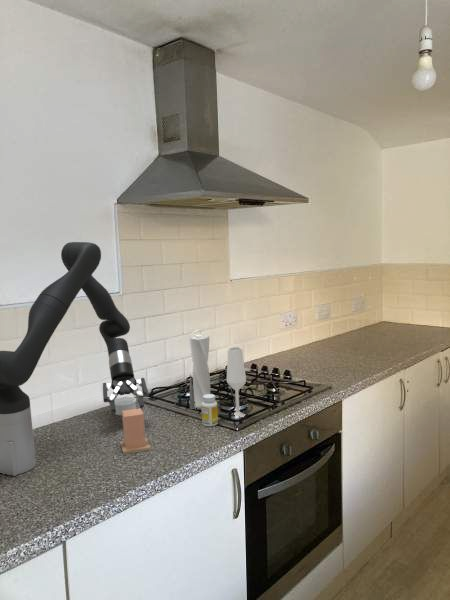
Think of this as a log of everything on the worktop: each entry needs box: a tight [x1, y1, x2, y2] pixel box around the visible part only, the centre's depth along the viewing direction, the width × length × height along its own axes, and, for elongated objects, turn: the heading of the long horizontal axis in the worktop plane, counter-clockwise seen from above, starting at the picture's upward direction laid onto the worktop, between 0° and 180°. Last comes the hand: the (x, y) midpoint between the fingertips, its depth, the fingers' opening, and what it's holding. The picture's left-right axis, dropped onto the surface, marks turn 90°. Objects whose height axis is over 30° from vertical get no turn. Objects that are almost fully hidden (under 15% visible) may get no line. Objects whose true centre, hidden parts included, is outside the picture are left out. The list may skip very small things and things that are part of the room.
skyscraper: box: [188, 328, 211, 410], centre depth 182 cm, size 8×8×28 cm
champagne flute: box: [226, 346, 247, 417], centre depth 169 cm, size 7×7×24 cm
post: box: [119, 436, 152, 455], centre depth 149 cm, size 8×8×8 cm
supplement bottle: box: [200, 393, 219, 427], centre depth 165 cm, size 5×5×10 cm
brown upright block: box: [121, 407, 146, 449], centre depth 149 cm, size 6×6×10 cm
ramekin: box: [113, 396, 137, 416], centre depth 180 cm, size 9×9×4 cm
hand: (128, 410), depth 159 cm, fingers open, 8 cm apart
